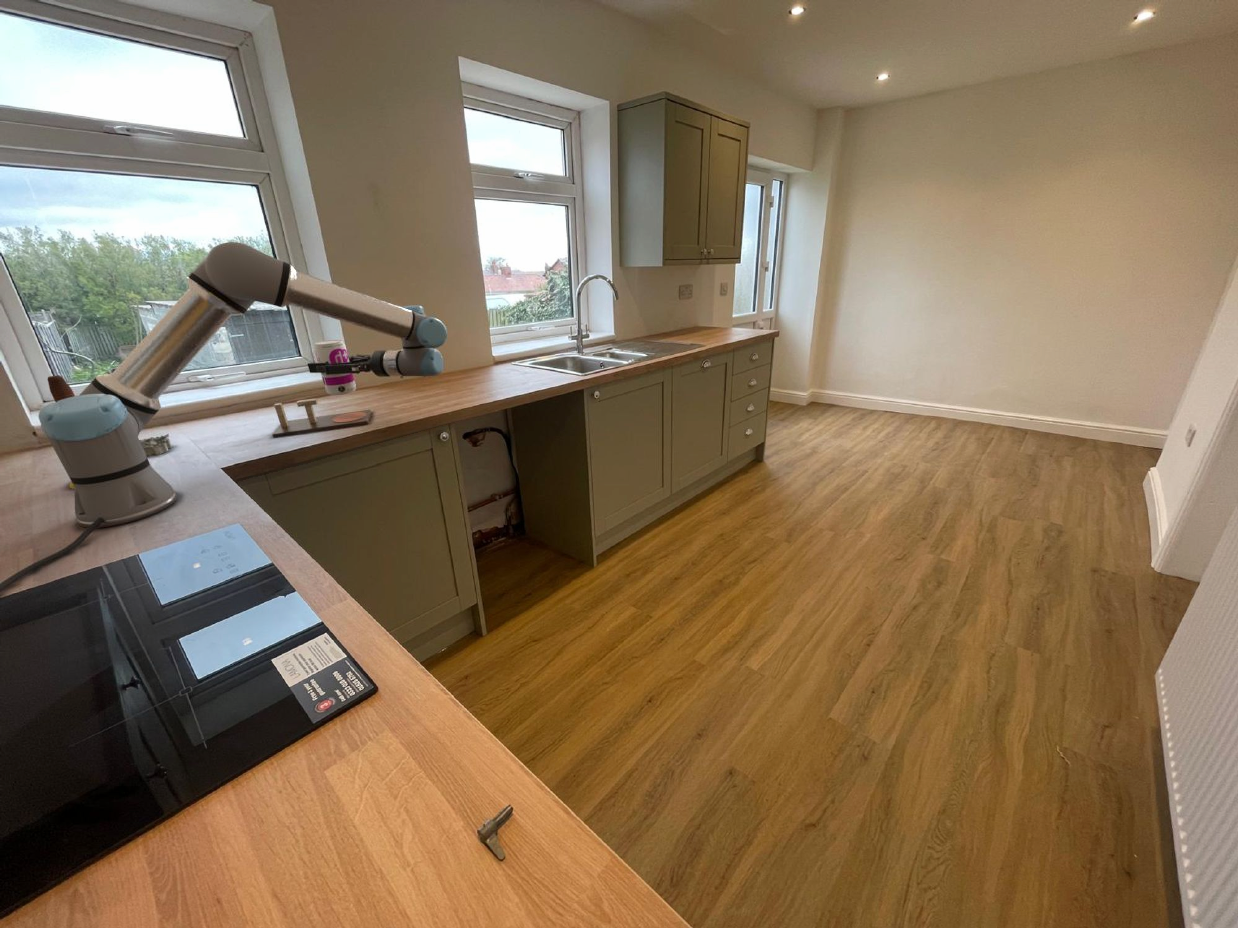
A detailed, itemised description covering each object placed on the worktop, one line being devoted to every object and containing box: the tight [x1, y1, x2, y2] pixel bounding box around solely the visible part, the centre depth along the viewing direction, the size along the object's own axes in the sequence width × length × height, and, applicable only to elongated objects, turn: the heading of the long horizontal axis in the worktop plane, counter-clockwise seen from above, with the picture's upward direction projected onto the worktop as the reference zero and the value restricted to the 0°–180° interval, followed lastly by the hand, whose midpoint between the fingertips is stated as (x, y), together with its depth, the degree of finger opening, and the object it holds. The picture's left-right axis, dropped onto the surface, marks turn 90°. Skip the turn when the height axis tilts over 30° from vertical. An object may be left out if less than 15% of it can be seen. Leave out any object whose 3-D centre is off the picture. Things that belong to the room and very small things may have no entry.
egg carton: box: [139, 433, 173, 457], centre depth 136 cm, size 11×8×4 cm
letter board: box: [272, 398, 372, 438], centre depth 152 cm, size 13×25×8 cm, turn 111°
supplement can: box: [313, 339, 357, 396], centre depth 149 cm, size 8×8×15 cm
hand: (320, 364), depth 149 cm, fingers closed on supplement can, 8 cm apart
